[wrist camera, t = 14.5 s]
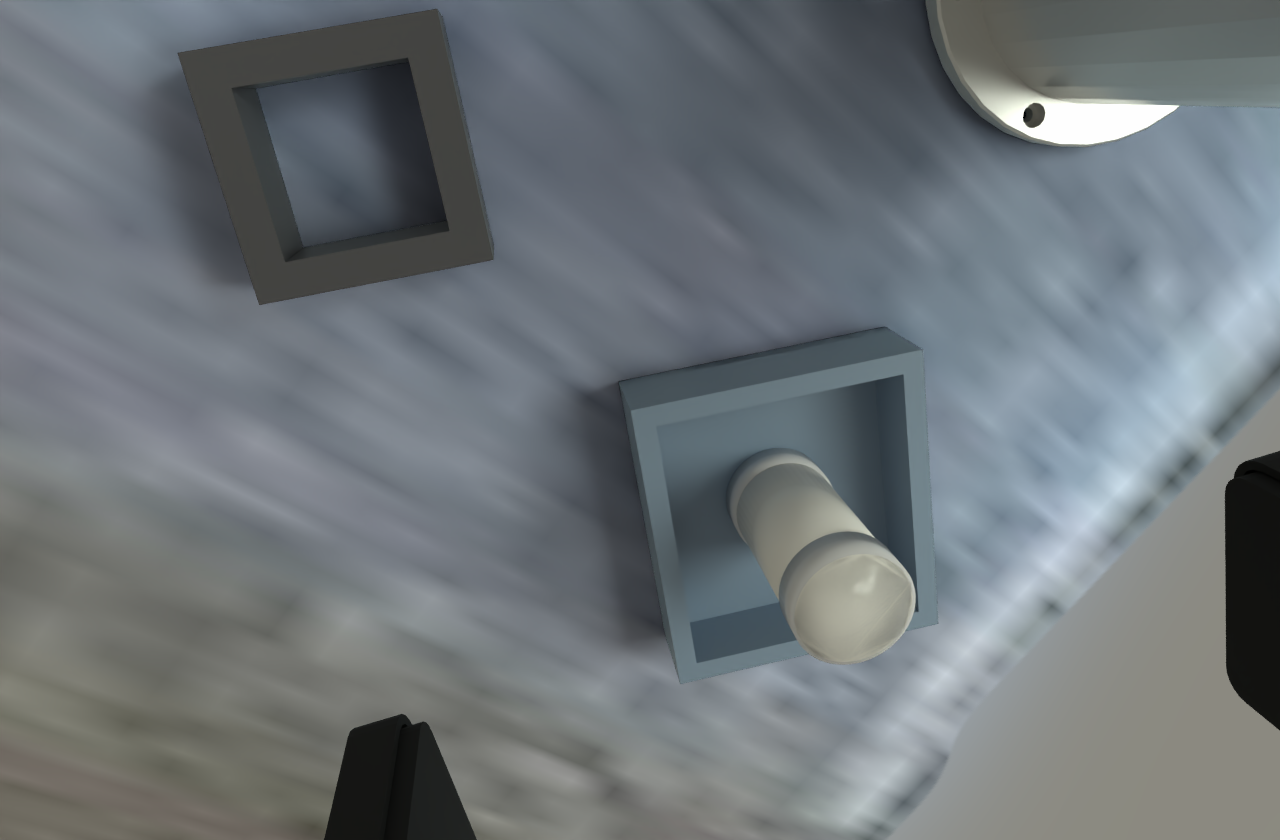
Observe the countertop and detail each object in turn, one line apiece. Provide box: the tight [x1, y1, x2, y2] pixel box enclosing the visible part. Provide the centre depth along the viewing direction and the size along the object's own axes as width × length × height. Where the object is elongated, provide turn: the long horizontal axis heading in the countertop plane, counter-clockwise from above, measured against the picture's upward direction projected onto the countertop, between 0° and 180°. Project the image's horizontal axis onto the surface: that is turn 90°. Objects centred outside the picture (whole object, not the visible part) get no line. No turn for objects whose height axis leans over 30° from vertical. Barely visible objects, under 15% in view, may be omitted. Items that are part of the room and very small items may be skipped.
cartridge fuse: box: [726, 448, 916, 665], centre depth 34 cm, size 4×4×9 cm
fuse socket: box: [178, 9, 494, 305], centre depth 30 cm, size 8×8×3 cm
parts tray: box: [619, 327, 938, 684], centre depth 37 cm, size 11×12×4 cm
